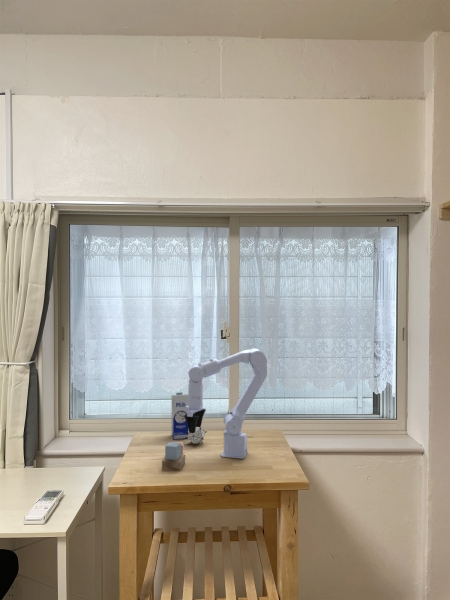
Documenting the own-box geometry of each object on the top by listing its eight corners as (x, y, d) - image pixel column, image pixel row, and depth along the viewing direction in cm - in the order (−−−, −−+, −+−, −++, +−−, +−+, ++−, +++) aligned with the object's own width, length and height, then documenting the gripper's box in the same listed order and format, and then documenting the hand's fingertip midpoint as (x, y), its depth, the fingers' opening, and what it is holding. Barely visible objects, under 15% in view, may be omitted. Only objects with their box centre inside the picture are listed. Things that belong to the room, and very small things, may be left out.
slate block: (180, 455, 163) (180, 442, 163) (176, 460, 159) (176, 446, 159) (169, 454, 164) (169, 441, 164) (165, 459, 160) (165, 445, 160)
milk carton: (172, 439, 191) (172, 394, 190) (171, 434, 197) (171, 391, 197) (188, 438, 192) (188, 394, 192) (186, 433, 199) (186, 390, 199)
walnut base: (184, 464, 164) (184, 454, 164) (180, 471, 157) (180, 461, 157) (167, 462, 165) (167, 453, 165) (162, 470, 158) (162, 460, 158)
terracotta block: (183, 453, 174) (183, 441, 174) (182, 458, 170) (182, 445, 169) (172, 454, 174) (172, 441, 174) (171, 458, 169) (171, 445, 169)
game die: (200, 453, 185) (210, 437, 181) (182, 447, 183) (191, 432, 178) (200, 436, 193) (209, 422, 188) (182, 431, 190) (191, 416, 186)
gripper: (191, 391, 180) (191, 423, 180) (179, 399, 166) (179, 434, 166) (207, 392, 178) (207, 425, 178) (197, 400, 164) (196, 436, 164)
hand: (195, 429), depth 172 cm, fingers open, 7 cm apart
